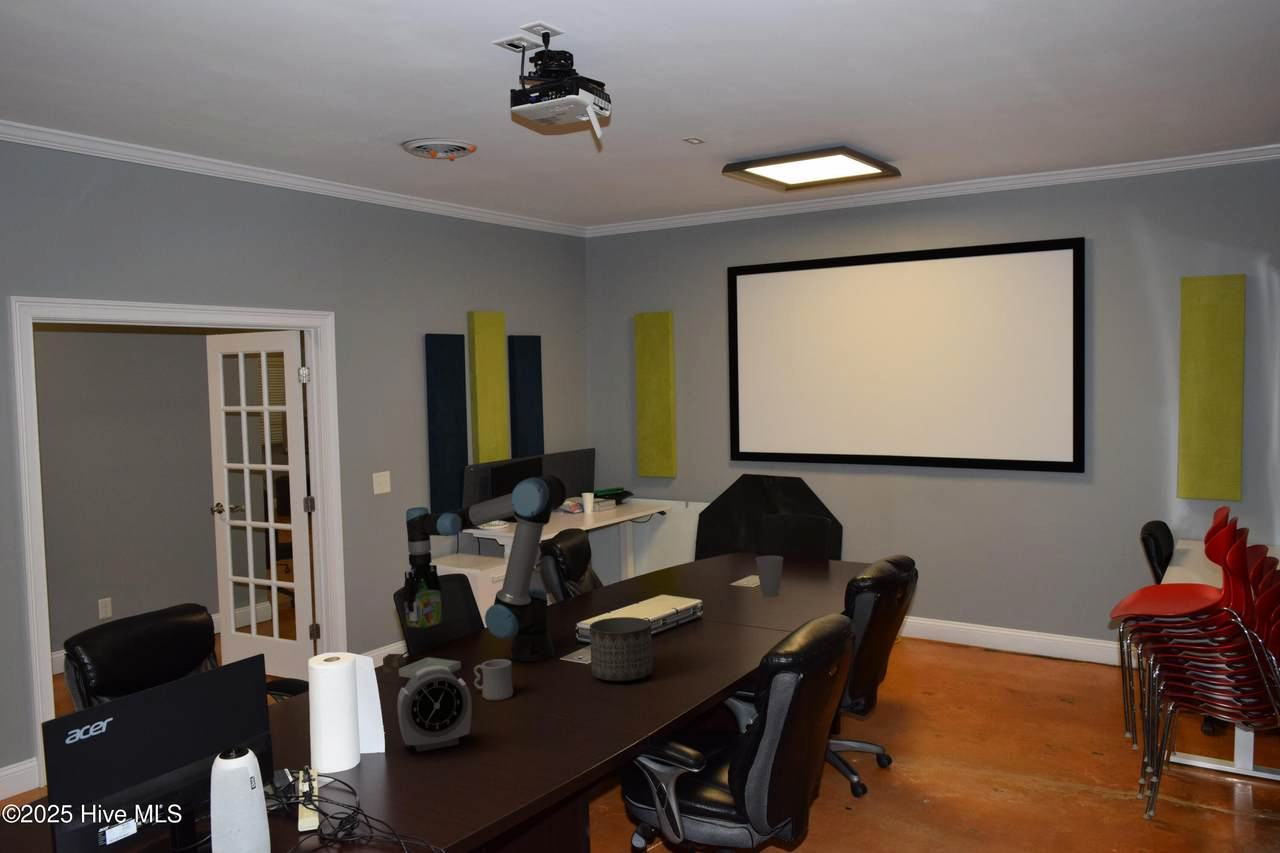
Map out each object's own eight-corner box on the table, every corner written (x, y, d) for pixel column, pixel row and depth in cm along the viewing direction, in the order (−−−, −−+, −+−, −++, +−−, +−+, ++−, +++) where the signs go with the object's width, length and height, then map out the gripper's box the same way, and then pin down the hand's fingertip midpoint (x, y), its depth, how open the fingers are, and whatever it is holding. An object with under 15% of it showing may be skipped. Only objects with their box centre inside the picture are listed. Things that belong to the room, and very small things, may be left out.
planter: (662, 670, 294) (660, 619, 294) (637, 688, 277) (635, 634, 276) (608, 664, 303) (606, 615, 302) (580, 682, 285) (578, 629, 284)
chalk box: (423, 629, 311) (420, 585, 310) (405, 626, 316) (402, 584, 316) (443, 623, 318) (440, 580, 318) (425, 620, 324) (423, 578, 323)
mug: (518, 692, 278) (517, 659, 277) (504, 702, 269) (503, 668, 269) (482, 689, 282) (480, 657, 281) (467, 699, 273) (465, 666, 273)
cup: (756, 597, 391) (754, 560, 391) (757, 591, 403) (756, 555, 402) (784, 597, 389) (783, 560, 389) (784, 591, 401) (783, 555, 400)
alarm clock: (403, 757, 231) (399, 677, 230) (398, 745, 238) (394, 668, 238) (474, 743, 238) (471, 666, 237) (467, 733, 245) (463, 658, 245)
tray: (460, 668, 304) (460, 661, 304) (432, 681, 292) (432, 673, 292) (428, 664, 311) (427, 657, 310) (399, 676, 298) (398, 668, 298)
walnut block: (404, 668, 307) (403, 653, 307) (397, 673, 302) (397, 658, 302) (389, 668, 307) (389, 653, 307) (383, 673, 303) (382, 658, 302)
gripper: (432, 546, 328) (437, 609, 329) (388, 558, 308) (393, 624, 309) (449, 547, 324) (453, 610, 325) (405, 558, 305) (409, 625, 306)
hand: (424, 617), depth 317 cm, fingers closed on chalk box, 9 cm apart
